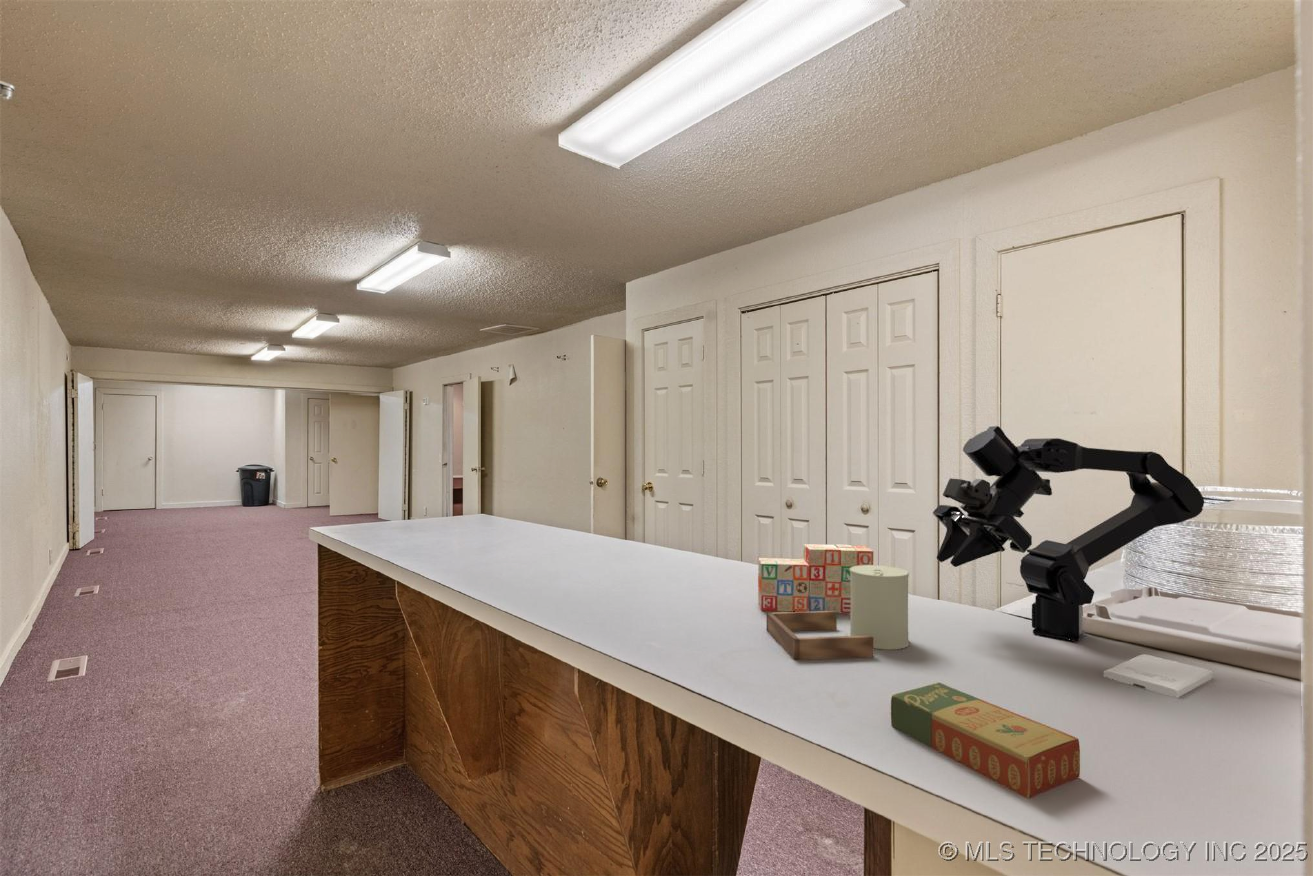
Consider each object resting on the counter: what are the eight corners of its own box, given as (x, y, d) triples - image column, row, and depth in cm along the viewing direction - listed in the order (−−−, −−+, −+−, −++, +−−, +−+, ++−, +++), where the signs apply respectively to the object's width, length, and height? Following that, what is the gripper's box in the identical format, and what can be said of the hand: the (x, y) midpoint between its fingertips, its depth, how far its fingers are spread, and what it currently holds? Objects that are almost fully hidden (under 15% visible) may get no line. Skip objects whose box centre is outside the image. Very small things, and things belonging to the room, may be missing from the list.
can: (847, 645, 97) (847, 570, 97) (851, 629, 105) (851, 560, 106) (909, 653, 93) (909, 575, 94) (909, 635, 102) (908, 564, 102)
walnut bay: (834, 627, 106) (834, 610, 106) (873, 656, 92) (873, 637, 92) (766, 630, 105) (766, 612, 105) (794, 659, 90) (794, 639, 90)
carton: (1027, 803, 55) (1027, 756, 55) (888, 729, 69) (888, 691, 69) (1081, 780, 59) (1081, 736, 59) (938, 714, 73) (938, 678, 73)
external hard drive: (1212, 682, 84) (1177, 701, 77) (1141, 664, 91) (1103, 680, 84) (1212, 670, 84) (1177, 689, 77) (1141, 653, 91) (1103, 668, 84)
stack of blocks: (760, 611, 117) (760, 547, 117) (757, 603, 123) (758, 542, 123) (874, 614, 115) (874, 550, 115) (865, 606, 121) (865, 544, 121)
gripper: (942, 460, 111) (885, 521, 109) (1013, 463, 92) (945, 537, 91) (983, 503, 112) (926, 564, 110) (1061, 514, 93) (994, 588, 92)
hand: (945, 562), depth 101 cm, fingers open, 4 cm apart
